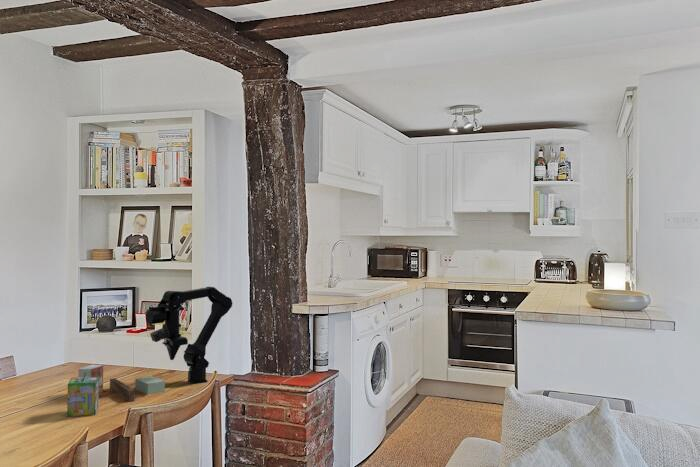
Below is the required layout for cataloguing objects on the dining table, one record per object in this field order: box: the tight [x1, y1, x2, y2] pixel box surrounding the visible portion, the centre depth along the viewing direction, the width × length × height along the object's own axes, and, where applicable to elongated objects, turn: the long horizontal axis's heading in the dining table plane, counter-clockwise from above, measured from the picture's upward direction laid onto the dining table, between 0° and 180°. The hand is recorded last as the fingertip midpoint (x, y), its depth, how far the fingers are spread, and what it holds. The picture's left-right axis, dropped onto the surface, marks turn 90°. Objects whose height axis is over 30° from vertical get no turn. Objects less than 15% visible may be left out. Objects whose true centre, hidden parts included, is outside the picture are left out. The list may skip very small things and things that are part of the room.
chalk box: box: [66, 369, 100, 418], centre depth 205 cm, size 9×9×15 cm
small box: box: [78, 364, 104, 394], centre depth 230 cm, size 8×6×10 cm
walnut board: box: [109, 377, 136, 403], centre depth 229 cm, size 2×24×4 cm, turn 38°
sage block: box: [134, 375, 166, 396], centre depth 235 cm, size 7×12×4 cm, turn 42°
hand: (171, 359), depth 241 cm, fingers closed
